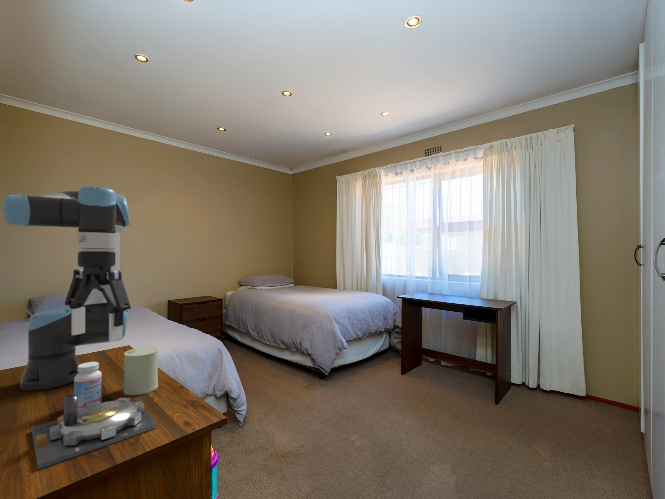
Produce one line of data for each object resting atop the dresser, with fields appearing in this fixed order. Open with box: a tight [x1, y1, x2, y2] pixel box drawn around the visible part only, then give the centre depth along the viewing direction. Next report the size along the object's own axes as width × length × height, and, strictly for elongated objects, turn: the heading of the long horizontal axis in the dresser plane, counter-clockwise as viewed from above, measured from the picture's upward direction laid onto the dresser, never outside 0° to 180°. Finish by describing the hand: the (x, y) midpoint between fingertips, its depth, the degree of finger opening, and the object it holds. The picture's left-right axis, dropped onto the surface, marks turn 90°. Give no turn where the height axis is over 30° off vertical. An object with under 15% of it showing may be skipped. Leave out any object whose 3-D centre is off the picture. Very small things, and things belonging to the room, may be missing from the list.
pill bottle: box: [73, 361, 103, 410], centre depth 88 cm, size 6×6×11 cm
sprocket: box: [50, 394, 145, 445], centre depth 77 cm, size 18×18×8 cm
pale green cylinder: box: [123, 346, 159, 396], centre depth 99 cm, size 9×9×12 cm
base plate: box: [31, 398, 158, 471], centre depth 76 cm, size 19×21×2 cm
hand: (96, 336), depth 79 cm, fingers open, 13 cm apart
